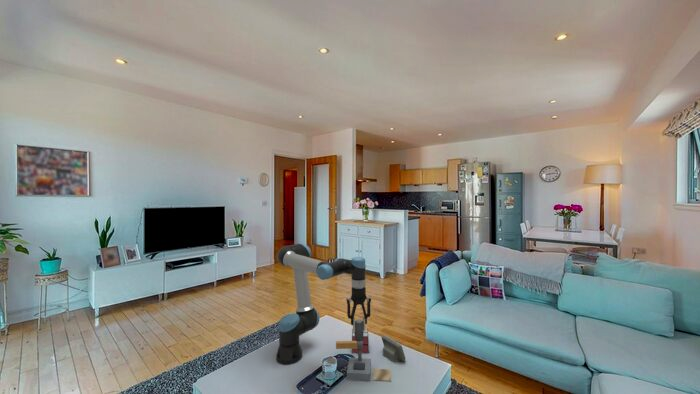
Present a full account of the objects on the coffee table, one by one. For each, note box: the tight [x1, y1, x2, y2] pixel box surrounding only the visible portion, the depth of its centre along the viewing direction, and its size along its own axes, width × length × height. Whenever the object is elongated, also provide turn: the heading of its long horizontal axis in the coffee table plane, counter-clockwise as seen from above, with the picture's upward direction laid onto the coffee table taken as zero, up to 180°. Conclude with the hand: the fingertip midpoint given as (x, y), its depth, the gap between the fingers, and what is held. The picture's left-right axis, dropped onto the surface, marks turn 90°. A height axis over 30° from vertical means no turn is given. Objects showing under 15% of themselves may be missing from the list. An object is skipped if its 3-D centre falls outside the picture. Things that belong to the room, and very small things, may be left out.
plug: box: [355, 318, 364, 342], centre depth 146 cm, size 5×5×10 cm
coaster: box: [372, 368, 392, 382], centre depth 143 cm, size 9×9×1 cm
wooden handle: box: [335, 340, 363, 350], centre depth 151 cm, size 4×15×3 cm, turn 91°
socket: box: [346, 349, 372, 382], centre depth 146 cm, size 12×14×10 cm
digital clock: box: [381, 334, 406, 363], centre depth 160 cm, size 16×9×11 cm, turn 24°
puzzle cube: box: [351, 328, 370, 354], centre depth 169 cm, size 10×10×10 cm
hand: (358, 330), depth 146 cm, fingers closed on plug, 5 cm apart
